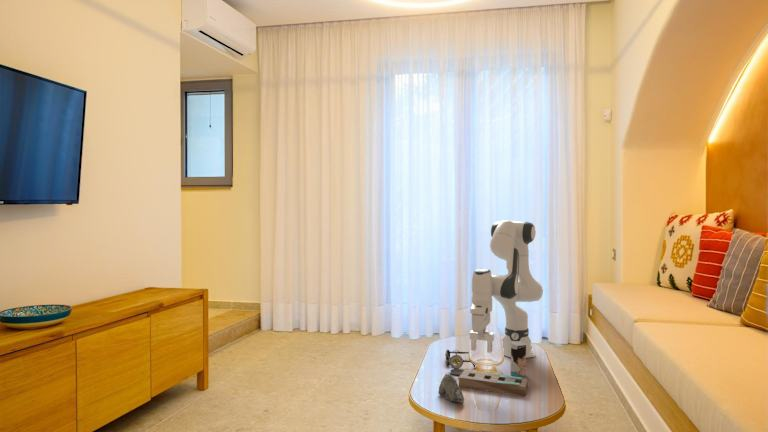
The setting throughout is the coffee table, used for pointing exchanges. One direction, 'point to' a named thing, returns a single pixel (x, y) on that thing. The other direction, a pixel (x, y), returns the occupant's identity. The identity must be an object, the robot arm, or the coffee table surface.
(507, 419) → the coffee table surface
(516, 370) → the cup
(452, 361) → the pocket watch
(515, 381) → the slotted brown block
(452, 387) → the mineral rock
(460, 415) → the coffee table surface
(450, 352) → the sunglasses
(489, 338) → the tall white block
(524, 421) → the coffee table surface
